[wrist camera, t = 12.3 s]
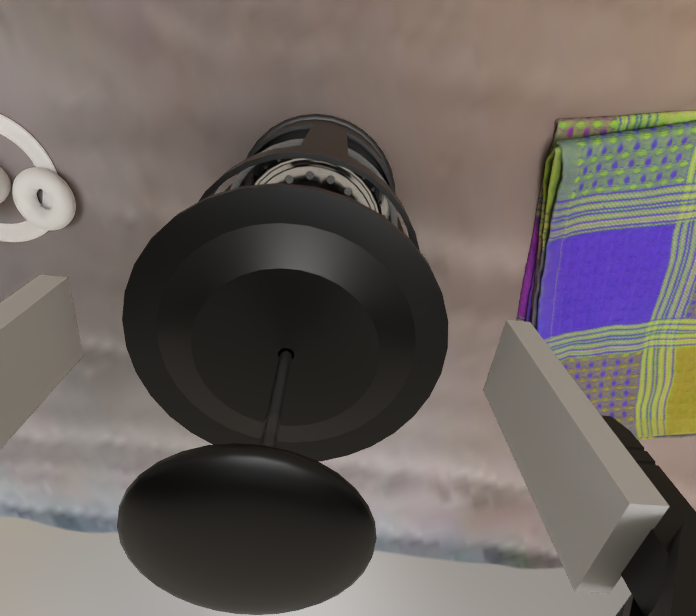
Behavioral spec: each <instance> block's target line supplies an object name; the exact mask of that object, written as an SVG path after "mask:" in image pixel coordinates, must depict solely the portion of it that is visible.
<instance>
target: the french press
mask: <svg viewBox="0 0 696 616" xmlns="http://www.w3.org/2000/svg"><path fill="white" fill-rule="evenodd" d="M238 173H239V174H238ZM236 174H238V175H237V177H236V178H235V180H234V182H233V183H232V184H231V185H230V186H229V187H228V188H227V189H226V190H225V191H224V192H221V193H218V194H215V195H214V193H215V192H216V190H217V189H218V188H219V186H220V185H222V184H223V183H224V182H225V181H226V180H227V179H229V178H231V177H232V176H234V175H236ZM397 211H398V212H399V213H400V214H401V216H402V218H403V220H404V222H405V225H406V227H407V230H408V234H409V237H408V236H407V235H405V234H404V231H403V228H402V226H401V223H400V221H399V218H398V215H397ZM409 238H410V239H409ZM122 321H123V328H124V335H125V341H126V347H127V350H128V353H129V355H130V358H131V360H132V363H133V366H134V368H135V371H136V373H137V375H138V376H139V378H140V379H141V381H142V383H143V384H144V386H145V387H146V389H147V390H148V392H149V394H150V395H151V396H152V398H153V399H154V400H155V401H156V402H157V403H158V404H159V405H160V406H161V407H162V408H163V409H164V410H165V412H166V413H167V414H168V415H169V416H170V417H172V418H173V419H174V420H176V421H177V422H178V423H179V424H181V425H182V426H183V427H185V428H186V429H187V430H189V431H190V432H191V433H193V434H195V435H197V436H198V437H200V438H202V439H204V440H206V441H208V442H209V443H211V444H213V445H207V446H203V447H199V448H195V449H190V450H186V451H182V452H180V453H177V454H175V455H173V456H170V457H168V458H166V459H163V460H161V461H159V462H157V463H156V464H154V465H153V466H152V467H150V468H149V469H147V470H146V471H144V472H143V473H141V474H140V475H139V476H138V477H137V478H136V479H135V481H134V482H133V483H132V484H131V485H130V486H129V487H128V489H127V490H126V492H125V494H124V496H123V499H122V501H121V503H120V505H119V513H118V522H117V529H118V533H119V538H120V543H121V545H122V547H123V549H124V551H125V553H126V555H127V557H128V559H129V560H130V561H131V562H132V563H133V565H134V566H135V567H136V568H137V569H138V570H139V572H140V573H141V574H143V575H144V576H145V577H146V578H148V579H149V580H150V581H151V582H152V583H154V584H155V585H156V586H158V587H160V588H161V589H163V590H165V591H167V592H169V593H170V594H172V595H173V596H175V597H177V598H180V599H182V600H185V601H187V602H190V603H192V604H195V605H198V606H202V607H205V608H209V609H212V610H216V611H223V612H229V613H235V614H252V615H262V614H279V613H285V612H290V611H296V610H300V609H303V608H306V607H310V606H313V605H316V604H319V603H322V602H324V601H326V600H328V599H330V598H332V597H334V596H337V595H338V594H340V593H341V592H343V591H344V590H345V589H347V588H348V587H350V586H351V585H352V584H353V583H354V582H355V581H356V580H357V579H358V578H359V577H360V576H361V575H362V574H363V572H364V571H365V569H366V567H367V565H368V564H369V562H370V560H371V558H372V555H373V552H374V547H375V543H376V528H375V521H374V518H373V516H372V514H371V511H370V509H369V506H368V505H367V503H366V502H365V501H364V499H363V498H362V496H361V495H360V494H359V492H358V491H357V490H356V489H355V487H353V486H352V485H351V484H350V483H349V482H348V481H346V480H345V479H344V478H343V477H342V476H341V475H339V474H338V473H337V472H335V471H333V470H332V469H330V468H328V467H327V466H325V465H323V464H321V463H320V462H318V461H324V460H329V459H333V458H338V457H342V456H347V455H350V454H352V453H355V452H358V451H360V450H363V449H365V448H368V447H371V446H373V445H374V444H376V443H378V442H380V441H381V440H383V439H385V438H386V437H388V436H390V435H391V434H393V433H395V432H396V431H397V430H398V429H399V428H401V427H402V426H403V425H404V424H405V423H406V422H408V421H409V420H410V419H411V418H412V417H413V416H414V415H415V414H416V413H417V411H418V410H419V409H420V408H421V406H422V405H423V404H424V403H425V401H426V400H427V399H428V398H429V396H430V394H431V392H432V391H433V389H434V387H435V385H436V383H437V381H438V379H439V377H440V375H441V372H442V368H443V364H444V360H445V356H446V352H447V348H448V319H447V314H446V309H445V305H444V300H443V295H442V292H441V290H440V288H439V285H438V283H437V281H436V279H435V277H434V275H433V273H432V271H431V268H430V266H429V264H428V262H427V261H426V259H425V258H424V257H423V255H422V254H421V253H420V251H419V246H418V242H417V238H416V234H415V231H414V229H413V227H412V225H411V222H410V220H409V218H408V216H407V214H406V212H405V209H404V207H403V205H402V203H401V202H400V200H399V199H398V198H397V196H396V195H395V183H394V179H393V175H392V171H391V168H390V166H389V163H388V161H387V159H386V157H385V155H384V153H383V152H382V150H381V149H380V148H379V146H378V145H377V144H376V142H375V141H374V140H373V139H372V138H371V137H370V136H369V135H368V134H367V133H365V132H364V131H363V130H362V129H360V128H359V127H357V126H355V125H354V124H352V123H350V122H348V121H346V120H343V119H340V118H337V117H334V116H328V115H320V114H312V115H301V116H297V117H294V118H291V119H288V120H285V121H283V122H281V123H279V124H278V125H276V126H274V127H273V128H271V129H270V130H268V131H267V132H266V133H265V134H264V135H263V136H262V137H261V138H260V139H259V140H258V141H257V142H256V144H255V145H254V147H253V148H252V149H251V151H250V152H249V154H248V156H247V159H246V160H244V161H242V162H241V163H239V164H237V165H235V166H234V167H232V168H231V169H230V170H229V171H227V172H226V173H225V174H224V175H223V176H222V177H221V178H220V179H218V180H217V181H216V182H215V183H214V184H213V185H212V186H211V187H210V188H209V189H208V190H207V191H205V193H204V194H203V196H202V197H201V199H200V200H199V202H198V203H196V204H194V205H193V206H191V207H189V208H187V209H185V210H184V211H182V212H180V213H179V214H177V215H176V216H175V217H174V218H173V219H172V220H171V221H170V222H169V223H168V224H166V225H165V226H164V227H163V228H162V229H161V230H160V231H159V232H158V233H157V234H156V235H155V236H153V237H152V238H151V240H150V241H149V243H148V244H147V246H146V247H145V249H144V250H143V252H142V253H141V255H140V256H139V258H138V259H137V261H136V262H135V264H134V267H133V269H132V272H131V275H130V278H129V281H128V284H127V287H126V290H125V295H124V306H123V317H122Z"/></svg>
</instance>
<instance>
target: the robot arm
mask: <svg viewBox="0 0 696 616" xmlns="http://www.w3.org/2000/svg"><path fill="white" fill-rule="evenodd" d="M82 357H83V352H82V347H81V342H80V336H79V331H78V326H77V321H76V316H75V310H74V305H73V300H72V295H71V290H70V285H69V279H68V277H61V276H51V275H41V274H40V275H39V276H37V277H36V278H35V279H33V280H32V281H30V282H29V283H27V284H26V285H25V286H23V287H22V288H20V289H19V290H17V291H16V292H14V293H13V294H12V295H10V296H9V297H7V298H6V299H4V300H3V301H2V302H0V449H1V448H2V447H3V446H4V445H5V444H6V443H7V442H8V440H9V439H10V438H11V437H12V436H13V435H14V434H15V432H16V431H17V430H18V429H19V428H20V427H21V426H22V425H23V423H24V422H25V421H26V420H27V419H28V418H29V417H30V416H31V414H32V413H33V412H34V411H35V410H36V409H37V408H38V406H39V405H40V404H41V403H42V402H43V401H44V400H45V399H46V397H47V396H48V395H49V394H50V393H51V392H52V391H53V389H54V388H55V387H56V386H57V385H58V384H59V383H60V382H61V380H62V379H63V378H64V377H65V376H66V375H67V374H68V372H69V371H70V370H71V369H72V368H73V367H74V366H75V365H76V363H77V362H78V361H79V360H80V359H81V358H82ZM483 390H484V392H485V395H486V397H487V399H488V401H489V404H490V406H491V408H492V410H493V412H494V415H495V417H496V419H497V421H498V423H499V426H500V428H501V430H502V432H503V434H504V437H505V439H506V441H507V443H508V445H509V448H510V450H511V452H512V454H513V457H514V459H515V461H516V463H517V465H518V468H519V470H520V472H521V474H522V476H523V479H524V481H525V483H526V485H527V487H528V490H529V492H530V494H531V496H532V499H533V501H534V503H535V505H536V507H537V510H538V512H539V514H540V516H541V518H542V521H543V523H544V525H545V527H546V529H547V532H548V534H549V536H550V538H551V541H552V543H553V545H554V547H555V549H556V552H557V554H558V556H559V558H560V560H561V563H562V565H563V567H564V569H565V571H566V573H567V576H568V578H569V580H570V582H571V585H572V587H573V589H574V591H575V592H590V593H610V592H611V590H612V589H613V587H614V586H615V585H616V583H617V582H618V580H619V579H620V577H621V576H622V577H623V579H624V580H625V582H626V584H627V586H628V588H629V590H630V592H631V593H632V594H631V596H630V597H629V598H628V600H627V601H626V602H625V604H624V605H623V607H622V608H621V609H620V611H619V612H618V613H617V615H616V616H696V512H695V510H694V509H693V508H692V507H691V505H690V504H689V503H688V502H687V501H686V499H685V498H684V497H683V496H682V494H681V493H680V492H679V491H678V489H677V488H676V487H675V486H674V484H673V483H672V482H671V481H670V479H669V478H668V477H667V476H666V474H665V473H664V472H663V471H662V470H661V468H660V467H659V466H657V465H655V461H654V460H653V458H652V457H651V456H650V455H649V453H648V452H647V451H644V447H643V446H642V445H641V443H640V442H639V441H638V440H637V439H636V437H635V436H634V435H633V434H632V432H631V431H630V430H628V429H627V428H626V427H625V426H623V425H622V424H621V423H619V422H618V421H617V420H616V419H614V418H613V417H612V416H604V415H600V414H599V412H598V411H597V410H596V408H595V407H594V406H593V404H592V403H591V402H590V400H589V399H588V398H587V396H586V395H585V394H584V393H583V391H582V390H581V389H580V387H579V386H578V385H577V383H576V382H575V381H574V379H573V378H572V377H571V375H570V374H569V373H568V371H567V370H566V369H565V367H564V366H563V365H562V363H561V362H560V361H559V360H558V358H557V357H556V356H555V354H554V353H553V352H552V350H551V349H550V348H549V346H548V345H547V344H546V342H545V341H544V340H543V338H542V337H541V336H540V334H539V333H538V332H537V330H536V329H535V328H534V327H533V325H532V324H531V323H530V322H524V321H514V320H506V323H505V326H504V329H503V332H502V335H501V338H500V341H499V344H498V347H497V350H496V353H495V356H494V359H493V362H492V365H491V368H490V371H489V374H488V377H487V380H486V383H485V386H484V389H483Z"/></svg>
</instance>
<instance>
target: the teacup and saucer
mask: <svg viewBox="0 0 696 616" xmlns="http://www.w3.org/2000/svg"><path fill="white" fill-rule="evenodd" d="M0 134H1V135H3V136H5V137H7V138H8V139H10V140H11V141H13V142H14V143H15V144H17V145H18V146H19V147H20V148H21V149H22V150H23V151H24V152H25V153H26V154H27V155H28V157H29V158H30V159H31V161H32V162H33V164H34V165H35V167H33V168H28V169H25V170H23V171H21V172H20V173H19V174H18V175H17V176H16V178H15V179H14V182H13V187H12V195H13V200H14V203H15V205H16V207H17V209H18V210H19V212H20V213H21V214H22V216H23V217H24V218H25V219H26V220H27V221H24V222H21V223H17V224H3V223H0V241H5V242H24V241H29V240H33V239H36V238H38V237H40V236H42V235H43V234H45V233H46V232H47V231H49V230H59V229H62V228H64V227H66V226H67V225H68V224H69V223H70V222H71V221H72V219H73V217H74V215H75V211H76V202H75V198H74V195H73V192H72V190H71V189H70V187H69V186H68V184H67V183H66V182H65V181H64V180H63V179H62V178H61V177H60V176H58V174H57V171H56V169H55V167H54V165H53V163H52V161H51V159H50V157H49V156H48V154H47V153H46V151H45V150H44V149H43V147H42V146H41V145H40V144H39V142H38V141H37V140H36V139H35V138H34V137H33V136H32V135H31V134H30V133H29V132H27V131H26V130H25V129H24V128H23V127H21V126H20V125H19V124H17V123H16V122H14V121H13V120H11V119H9V118H8V117H6V116H4V115H2V114H0ZM39 189H42V190H43V198H42V203H41V204H40V203H39V201H38V198H37V191H38V190H39ZM10 190H11V182H10V179H9V177H8V175H7V173H6V172H5V171H4V170H3V169H2V168H1V167H0V203H1V202H3V201H4V200H5V199H6V198H7V196H8V195H9V193H10Z"/></svg>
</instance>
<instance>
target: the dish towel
mask: <svg viewBox="0 0 696 616" xmlns="http://www.w3.org/2000/svg"><path fill="white" fill-rule="evenodd" d="M555 126H556V129H555V133H554V140H553V144H552V147H551V150H550V155H549V156H548V158H547V160H546V164H545V173H544V179H543V183H542V186H541V191H540V196H539V201H538V206H537V211H536V218H535V225H534V232H533V236H532V241H531V246H530V251H529V254H528V260H527V264H526V267H525V274H524V278H523V284H522V290H521V294H520V301H519V307H518V315H517V319H516V321H524V322H530V323H531V324H532V325H533V327H534V328H535V329H536V330H537V332H538V333H539V334H540V336H541V337H542V338H543V340H544V341H545V342H546V344H547V345H548V346H549V348H550V349H551V350H552V352H553V353H554V354H555V356H556V357H557V358H558V360H559V361H560V362H561V363H562V365H563V366H564V367H565V369H566V370H567V371H568V373H569V374H570V375H571V377H572V378H573V379H574V381H575V382H576V383H577V385H578V386H579V387H580V389H581V390H582V391H583V393H584V394H585V395H586V396H587V398H588V399H589V400H590V402H591V403H592V404H593V406H594V407H595V408H596V410H597V411H598V412H599V414H600V415H604V416H612V417H613V418H614V419H616V420H617V421H618V422H619V423H621V424H622V425H623V426H625V427H626V428H627V429H628V430H630V431H631V432H632V434H633V435H634V436H635V437H636V439H637V440H640V439H653V438H681V437H691V436H696V110H694V111H669V112H659V113H645V114H634V115H624V116H606V117H588V118H569V119H557V120H556V121H555Z"/></svg>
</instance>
